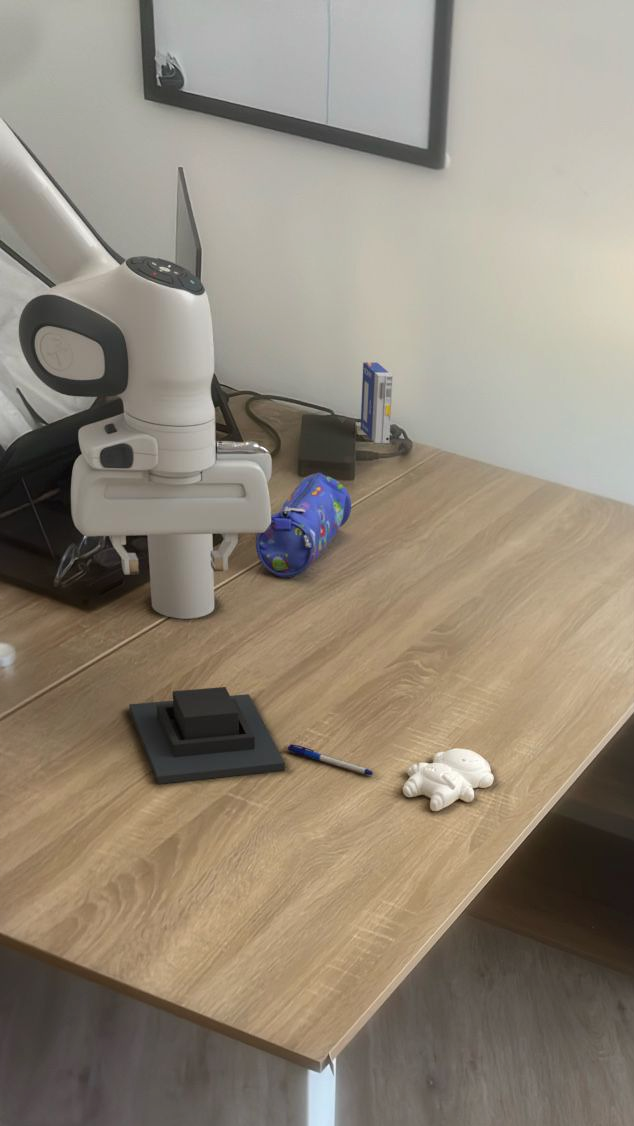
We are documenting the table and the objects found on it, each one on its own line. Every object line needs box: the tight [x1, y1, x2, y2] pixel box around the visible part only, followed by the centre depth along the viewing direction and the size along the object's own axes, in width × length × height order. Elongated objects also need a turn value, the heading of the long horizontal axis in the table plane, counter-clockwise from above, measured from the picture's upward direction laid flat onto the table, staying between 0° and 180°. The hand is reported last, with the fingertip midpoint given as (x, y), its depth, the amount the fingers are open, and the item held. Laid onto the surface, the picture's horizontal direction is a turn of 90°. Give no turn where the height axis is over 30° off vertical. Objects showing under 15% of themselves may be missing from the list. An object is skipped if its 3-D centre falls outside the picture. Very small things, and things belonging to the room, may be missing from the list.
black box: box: [172, 686, 239, 740], centre depth 144 cm, size 6×6×4 cm
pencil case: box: [255, 472, 352, 579], centre depth 186 cm, size 22×9×10 cm, turn 171°
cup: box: [146, 534, 215, 620], centre depth 167 cm, size 8×8×12 cm
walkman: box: [360, 361, 394, 444], centre depth 230 cm, size 8×3×12 cm, turn 27°
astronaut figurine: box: [402, 748, 495, 812], centre depth 144 cm, size 9×12×3 cm
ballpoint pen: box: [287, 743, 374, 776], centre depth 145 cm, size 10×1×1 cm, turn 73°
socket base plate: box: [128, 693, 286, 785], centre depth 145 cm, size 14×16×3 cm
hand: (175, 570), depth 138 cm, fingers open, 8 cm apart
